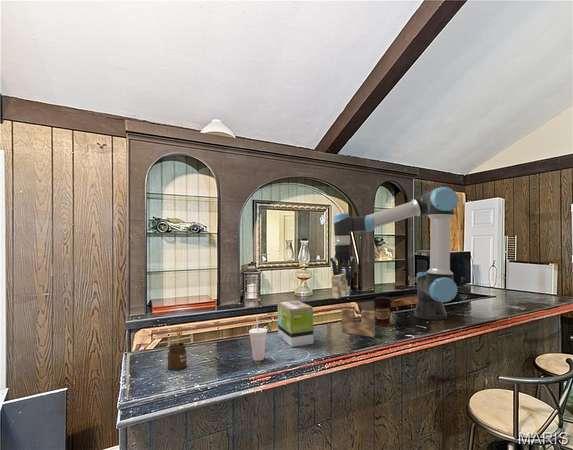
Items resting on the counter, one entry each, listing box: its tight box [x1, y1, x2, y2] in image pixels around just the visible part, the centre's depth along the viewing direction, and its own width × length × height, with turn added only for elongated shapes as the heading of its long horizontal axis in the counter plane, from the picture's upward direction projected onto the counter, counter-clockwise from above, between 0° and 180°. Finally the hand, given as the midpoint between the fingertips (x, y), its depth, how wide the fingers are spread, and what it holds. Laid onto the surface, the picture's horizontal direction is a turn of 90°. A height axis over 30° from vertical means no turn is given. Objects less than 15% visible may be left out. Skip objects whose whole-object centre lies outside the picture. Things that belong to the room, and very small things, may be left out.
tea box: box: [277, 300, 315, 348], centre depth 131 cm, size 15×10×15 cm, turn 22°
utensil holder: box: [167, 326, 188, 371], centre depth 105 cm, size 6×6×12 cm
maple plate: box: [331, 273, 350, 299], centre depth 153 cm, size 13×2×10 cm, turn 146°
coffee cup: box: [373, 296, 392, 327], centre depth 151 cm, size 9×8×13 cm
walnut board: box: [341, 308, 376, 338], centre depth 138 cm, size 14×2×10 cm, turn 56°
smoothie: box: [248, 316, 268, 362], centre depth 111 cm, size 6×6×14 cm
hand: (344, 292), depth 156 cm, fingers closed on maple plate, 2 cm apart
